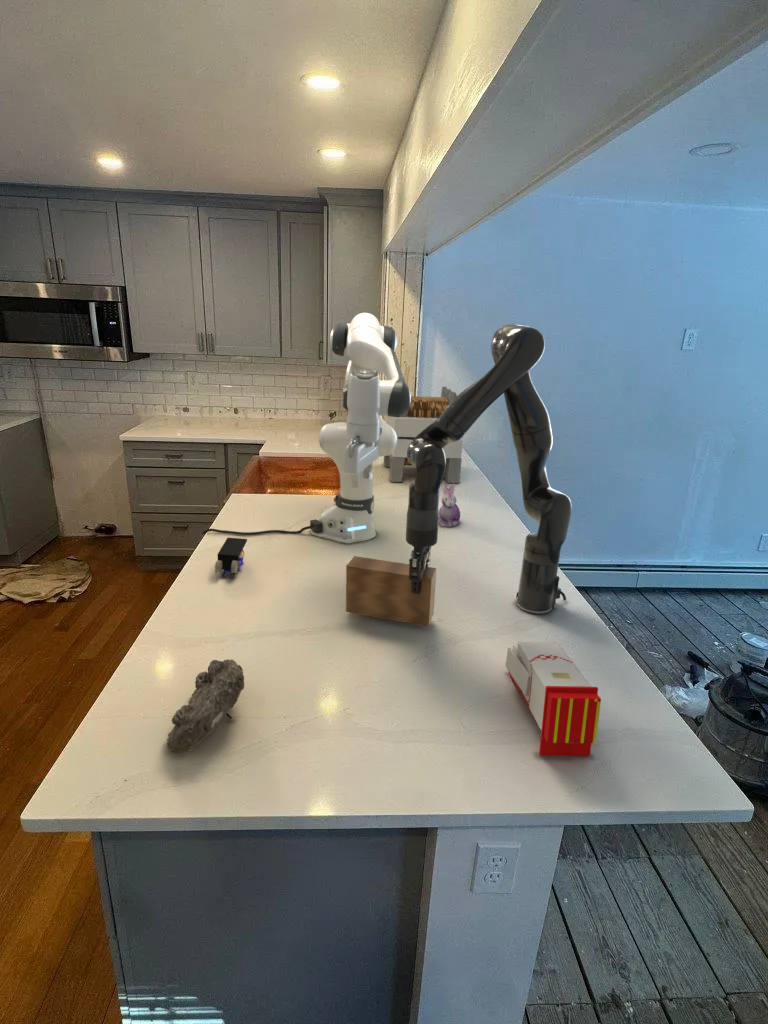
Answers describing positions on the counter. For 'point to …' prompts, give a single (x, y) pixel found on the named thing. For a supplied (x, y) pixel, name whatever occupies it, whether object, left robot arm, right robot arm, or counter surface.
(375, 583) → the box
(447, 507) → the figurine
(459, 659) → the counter surface
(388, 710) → the counter surface
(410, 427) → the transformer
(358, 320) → the left robot arm
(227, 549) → the figurine character
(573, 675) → the toy
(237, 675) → the fossil
